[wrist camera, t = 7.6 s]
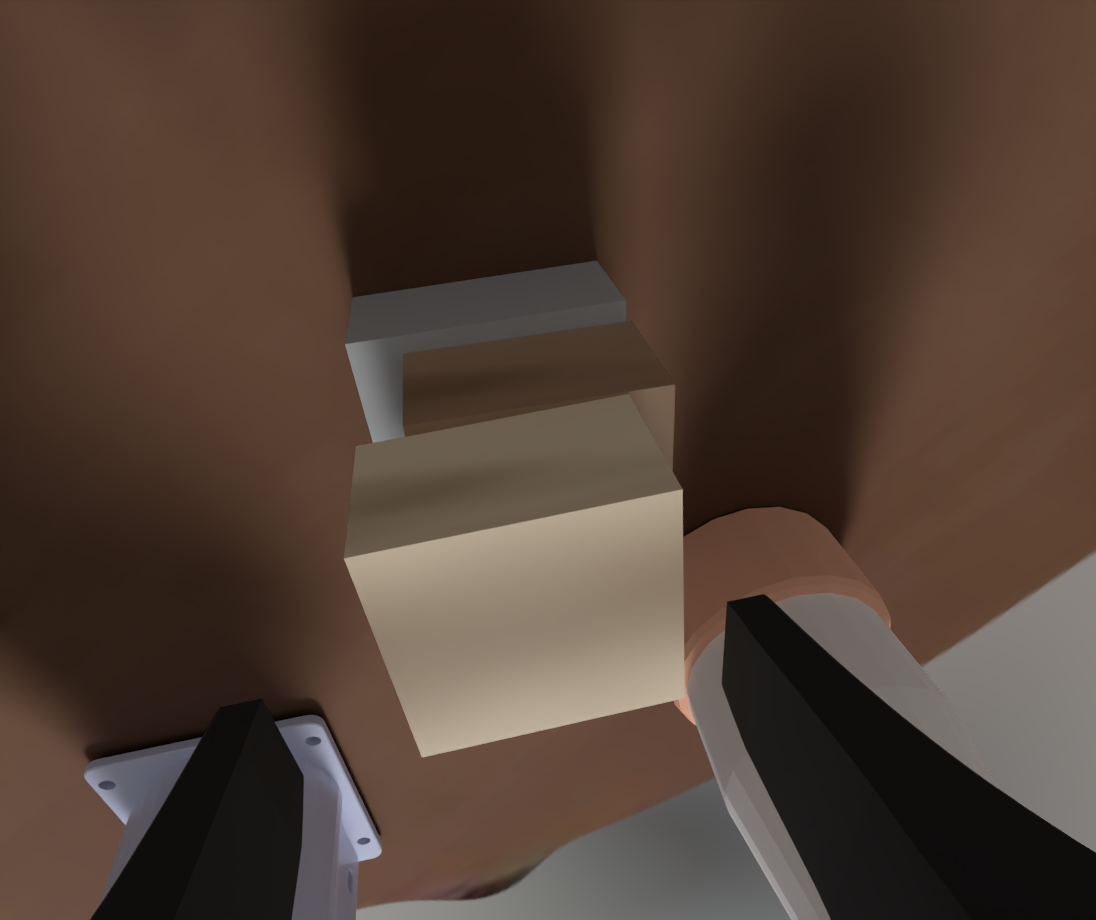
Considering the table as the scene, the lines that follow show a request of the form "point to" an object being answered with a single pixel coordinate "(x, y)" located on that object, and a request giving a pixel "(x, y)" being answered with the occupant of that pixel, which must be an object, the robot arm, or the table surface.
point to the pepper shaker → (833, 622)
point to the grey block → (466, 325)
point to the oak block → (521, 571)
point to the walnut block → (537, 379)
